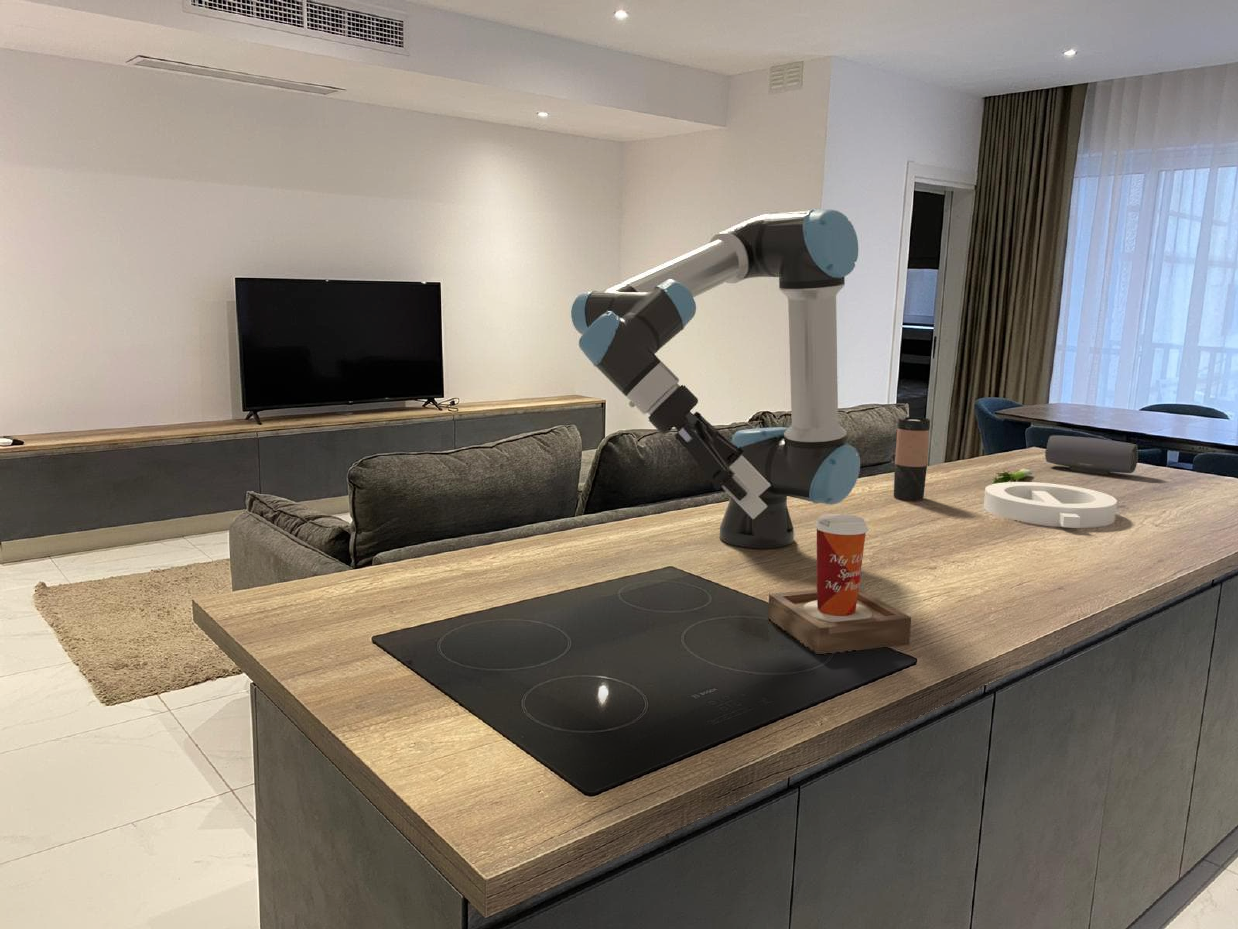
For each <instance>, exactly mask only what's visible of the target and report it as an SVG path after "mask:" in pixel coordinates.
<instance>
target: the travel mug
mask: <svg viewBox="0 0 1238 929" xmlns="http://www.w3.org/2000/svg"><path fill="white" fill-rule="evenodd" d="M897 420H898V422H897V430H896V431H897V434H896V447H895V455H894V456H895V458H894V475H893V476H894V479H893V498H894V499H896V500H900V501H906V502H907V501H909V502H919V501H923V499H924V497H925V496H924V495H925V487H926V478H927V468H928V458H929V457H928V455H929V444H930V443H929V442H930V441H929V440H930V425H931V419H929V418H925V417H917V416H907V417H905V418H903V419H902V418H900V417H899V418H897Z"/></svg>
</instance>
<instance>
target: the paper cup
mask: <svg viewBox="0 0 1238 929" xmlns="http://www.w3.org/2000/svg"><path fill="white" fill-rule="evenodd" d="M814 528H815V529H816V589H817V607H818V610H819V611H820V612H822V613H825V614H828V615H833V616H849V615H852V614H854V613H855V610H856V604H857V597H858V590H859V589H860V580H861V573H862V565H863V558H864V548H865V541H866V534H867V533H868V532H869V528H868V527H867V522H866V520H865V519H864V518H863V517H859V516H856V515H853V514H848V513H847V514H845V513H826V514H821V515H820V516H818V518H817V521H816V523H815V524H814Z"/></svg>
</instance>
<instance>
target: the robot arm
mask: <svg viewBox="0 0 1238 929" xmlns="http://www.w3.org/2000/svg"><path fill="white" fill-rule="evenodd" d="M858 257H859V240H858V236H857V231H856V229H855V228H854V225H853V224H852V221H850V220H849V217H847V216H846V215H845V214H844V213H842V212H841V211H839V210H835V209H821V208H814V209H808V210H794V211H784V212H783V211H782V212H770V213H766V214H761V215H758V216H755V217H752V218H749V219H748V220H745V221H743V222H741V223H739V224H736V225H734V226H732V227H729V228H728V229H725V230H723V231H721V232H718V233H717V234H714V235H713V237H712V238H711V239H710V240H709V243H707V244H706V245H703V246H701V247H699V248H697V249H695V250H692V251H690V252H687V253H685V254H683V255H681V256H678V257H677V258H675V259H672V260H670V261H668V262H666V263H665V262H664V263H663V264H661V265H659V266H657V267H654V268H653V269H650V270H647V271H646V272H644V273H641V274H639V275H636V276H635V277H632V278H630V279H628V280H625V281H624V282H621V283H619V284H617V285H614V286H612V287H611V286H610V287H609V288H607V289H605V290H600V291H598V290H592V291H586V292H583V293H581V294H579V295H578V296H577V297H576V298H575V300H574V301H573V304H572V306H571V311H570V318H571V322H572V325H573V327H574V328H575V330H576V331H577V332H578V333H579V334H581V336H580V338H579V341H578V346H579V349H580V350H581V352H582V353H584V354H583V355H584V356H586V358H587V359H588V360H589V361H590V362H591V363H592V365H593V367H595V368H596V369H598V370H599V371H600V372H601V373H602V374H603V375H604V376H605V377H606V378H607V379H608V380H609V381H610V383H612V384H613V385H614V386H615V387H616V388H617V389H618V390H619V391H620V392H621V393H622V394H623V395H624V396H625V397H626V398H627V399H628V400H629V403H628V405H629V407H631V408H634V407H636V409H637V410H638V411H639V412H640V413H641V414H642V415H646V414H648V415H649V416H648V422H650V423H651V424H652V426H653V427H655V429H657V431H659V433H660V434H661V435H666V434H668V433H669V432H670V431H671V430H672V429H674V428H675V430H676V431H677V433H676V434H675V435H674V437H675V439H676V440H677V441H678V442H679V443H680V444H681V445H682V446H683V447H684V448H685V449H686V451H687V452H688V454H690V455H691V457H692V459H693V460H694V461H695V462H696V463H697V465H698V466H699V468H700V469H702V471H703V472H704V474H705V475H706V476H707V477H708V478H709V480H710V482H712V487H713V488H714V489H715V490H716V491H718V490H720V489H721V488H722V489H723V490H724V491H725V492H726V493H727V494H728V495H729V501H728V505H727V507H726V510H725V513H724V515H723V517H722V519H721V520H722V521H721V523H720V526H719V539H720V540H721V541H722V542H724V543H726V544H729V545H733V546H736V547H742V548H749V549H777V548H785V547H788V546H790V545H791V544H793V543H794V540H795V532H794V531H795V529H794V525H793V522H792V519H791V515H790V511H789V507H788V500H787V499H788V497H789V498H794V499H799V500H803V501H808V502H812V503H813V504H822V505H823V504H824V505H831V506H833V505H837V504H839V503H841V502H843V501H844V500H845V499H846V498H847V497H849V495H850V494H851V492H852V490H853V489H854V488H855V486H856V484H857V481H858V478H859V476H860V471H861V457H860V454H859V452H858V450H857V449H856V448H855V447H854V446H853V445H851V444H847V443H848V442H847V439H848V437H847V434H848V433H847V430H846V429H845V428H844V427H843V426H841V425H840V424H839V403H838V402H839V398H838V397H839V396H838V395H839V394H838V393H839V392H838V390H839V389H838V337H837V336H838V333H837V332H838V331H837V330H838V328H837V326H838V325H837V296H838V294H839V293H840V291H841V290H842V289H843V288H844V287H845V284H846V283H845V280H846V279H845V278H846V276H848V275H849V274H851V273H852V272H853V271H854V269H855V267H856V262H857V261H858V259H859V258H858ZM753 278H778V283H779V285H778V288H779V290H780V291H781V292H782V293H783V294H784V295H785V296H786V297H787V300H788V301H787V303H788V308H787V309H788V310H787V311H788V336H789V337H788V338H789V339H788V340H789V341H788V343H789V344H788V345H789V371H790V372H789V374H790V378H789V379H790V408H791V412H790V413H791V425H790V426H789V427H783V426H778V427H777V426H776V427H774V426H773V427H760V428H759V427H757V428H747V429H740V430H737V431H736V432H735V433H733V435H732V438H731V440H730V439H728V438H727V437H726V436H725V435H724V434H723V433H722V432H720V431H719V430H718V429H717V428H716V427H715V426H714V425H712V424H711V423H710V422H709V421H708V420H706V419H705V418H704V416H702V414H701V413H700V412H698V411H695V412H693V413H692V410H693V409H694V408H695V407H696V406H697V404H698V403H699V399H698V397H697V396H696V395H695V394H693V392H692V391H691V390H689V388H688V387H687V386H686V385H685V384H684V385H683V384H681V385H680V384H679V382H680V379H679V377H678V376H677V375H676V374H675V373H674V372H673V371H672V370H671V369H670V368H669V367H668V366H667V365H666V364H665V363H664V362H663V361H661V359H659V357H658V356H657V355H656V353H658V352H659V350H661V349H662V348H663V347H664V346H665V345H666V344H668V342H670V341H671V340H672V339H673V338H674V337H676V336H677V335H678V334H679V333H680V332H682V331H683V330H684V329H685V327H686V326H687V325H688V324H689V323H690V322H691V321H692V319H694V317H695V315H696V313H697V305H696V301H695V298H696V297H698V296H700V295H702V294H704V293H706V292H708V291H710V290H713V289H714V288H716V287H719V286H720V285H723V284H725V283H726V284H736V283H737V284H738V283H739V282H741V281H744V280H746V279H753ZM728 465H729V466H728Z"/></svg>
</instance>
